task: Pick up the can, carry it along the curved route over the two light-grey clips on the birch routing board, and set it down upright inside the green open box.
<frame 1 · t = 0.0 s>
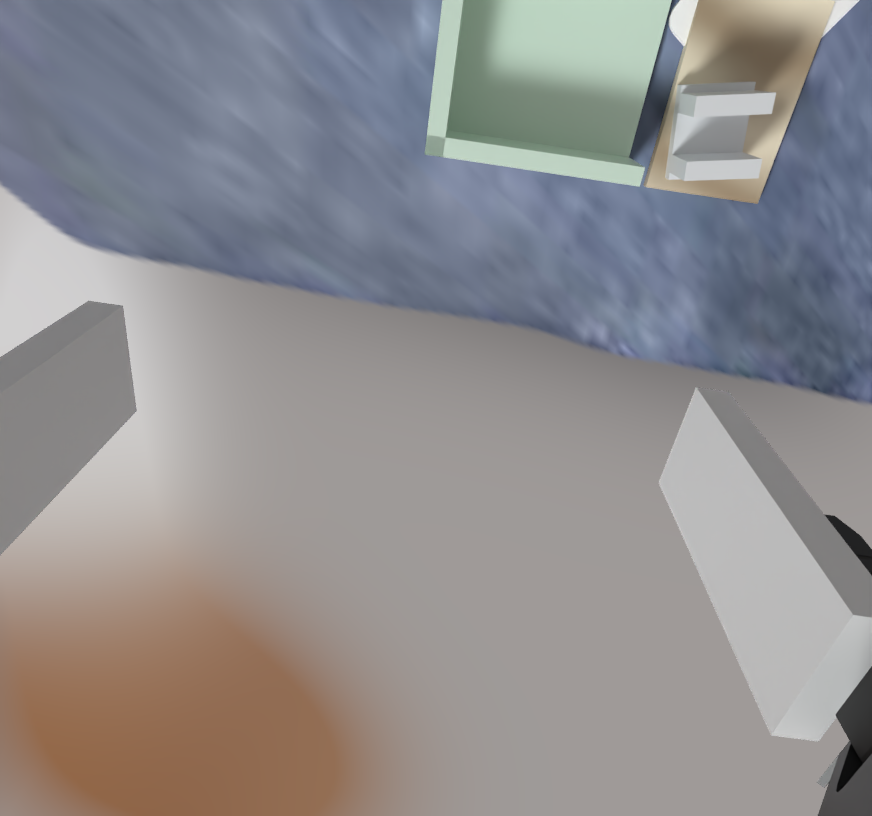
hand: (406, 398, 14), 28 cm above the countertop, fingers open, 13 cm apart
clip 2: (705, 131, 36), resting on routing board
routing board: (751, 35, 34), on the countertop
green open box: (547, 46, 35), on the countertop
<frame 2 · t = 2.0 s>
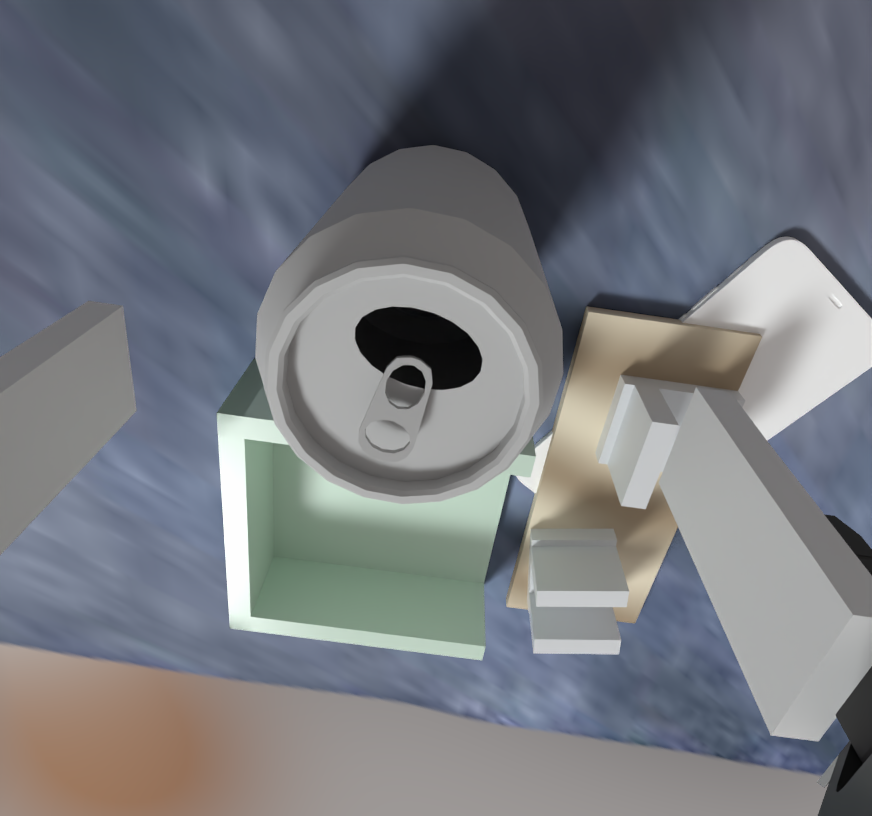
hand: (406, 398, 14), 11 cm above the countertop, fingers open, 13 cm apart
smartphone: (681, 404, 27), on the countertop
can: (431, 244, 24), on the countertop
clip 2: (568, 566, 31), resting on routing board
routing board: (612, 483, 29), on the countertop
clip 1: (664, 423, 27), resting on routing board
green open box: (379, 486, 30), on the countertop
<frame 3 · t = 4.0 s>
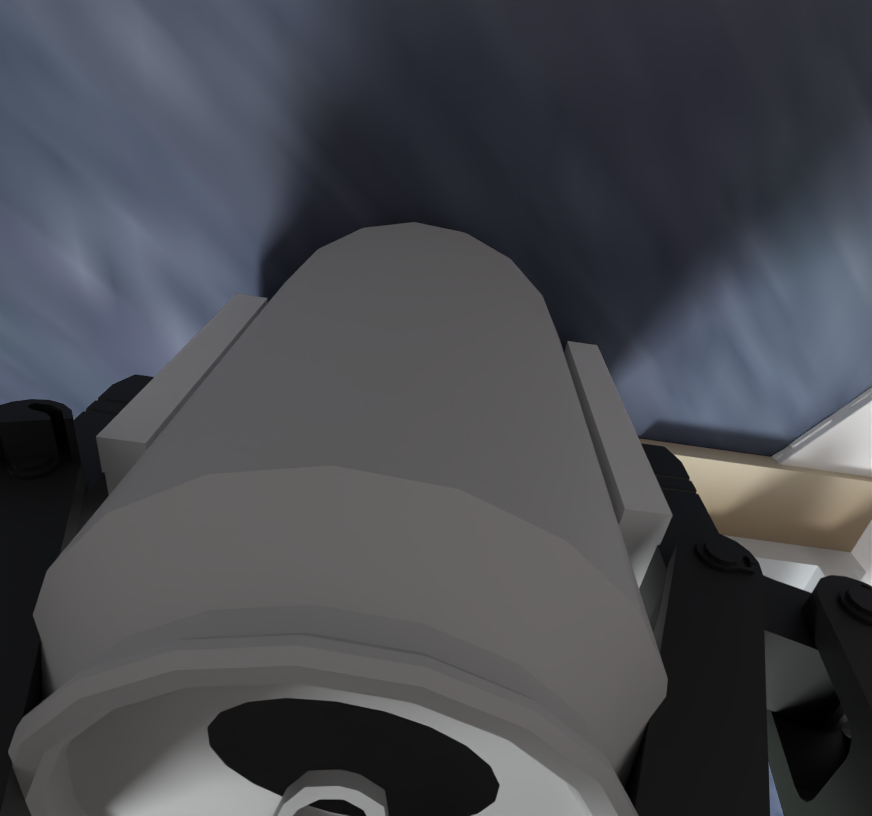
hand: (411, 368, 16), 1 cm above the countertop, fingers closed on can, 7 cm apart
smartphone: (761, 558, 20), on the countertop
can: (414, 354, 16), on the countertop, touching gripper
routing board: (664, 653, 21), on the countertop
clip 1: (742, 589, 19), resting on routing board
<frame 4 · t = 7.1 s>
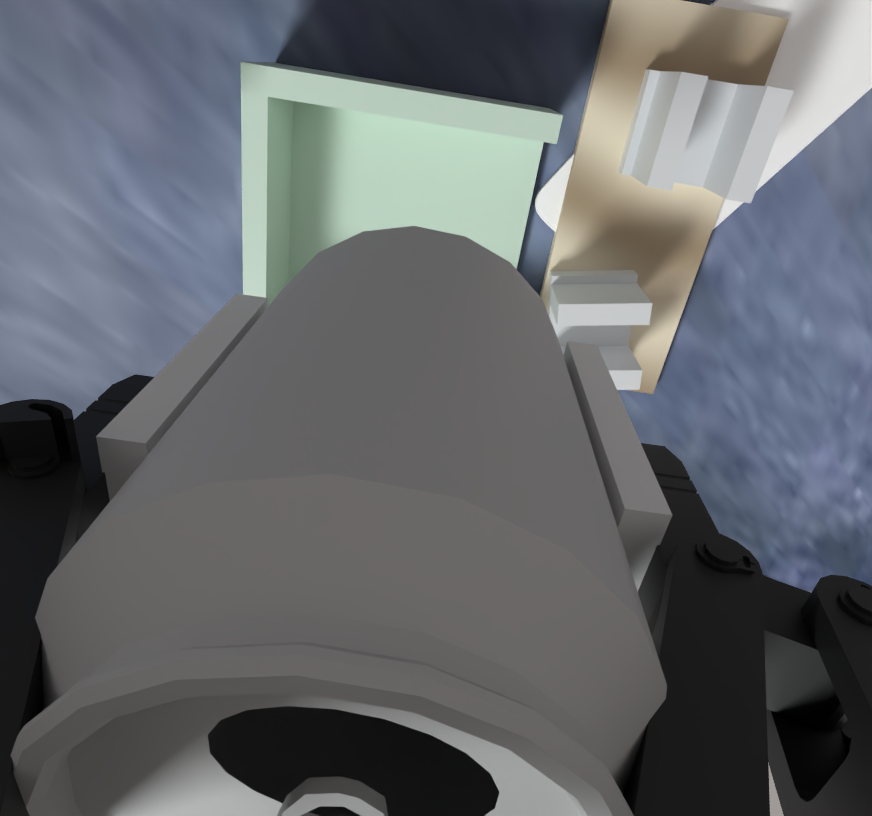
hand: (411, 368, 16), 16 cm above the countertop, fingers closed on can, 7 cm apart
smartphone: (703, 127, 27), on the countertop
can: (414, 357, 16), point 15 cm above the countertop, touching gripper
clip 2: (587, 319, 31), resting on routing board
routing board: (633, 219, 29), on the countertop
clip 1: (688, 131, 26), resting on routing board
green open box: (397, 225, 29), on the countertop
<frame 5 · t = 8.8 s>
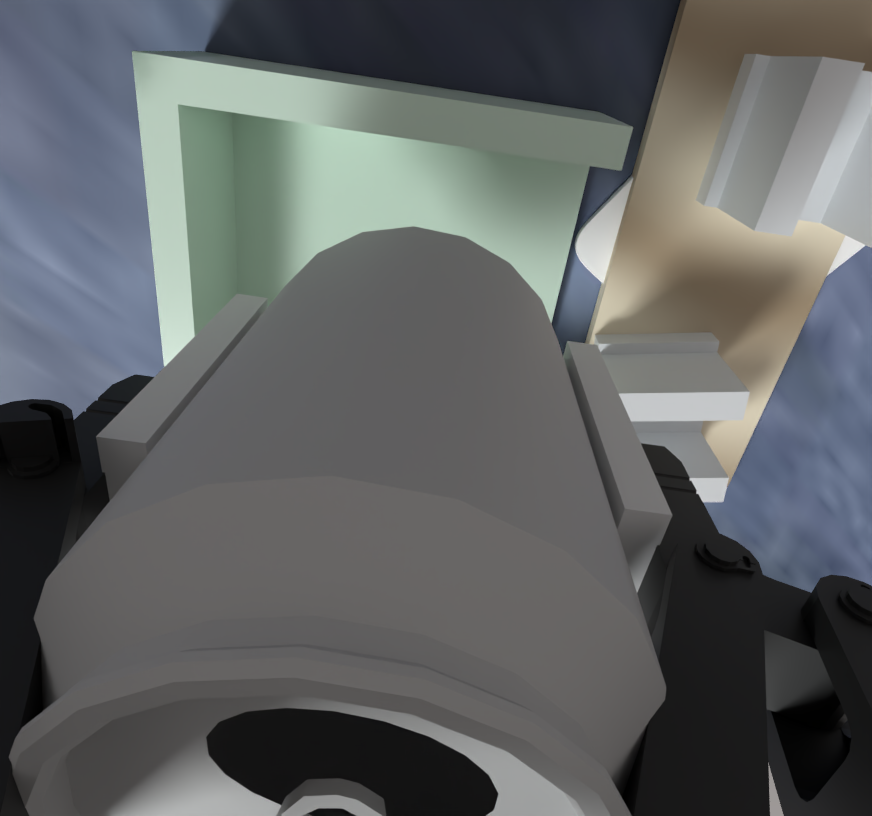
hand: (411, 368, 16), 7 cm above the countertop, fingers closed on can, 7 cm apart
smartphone: (817, 137, 19), on the countertop
can: (414, 358, 16), point 6 cm above the countertop, touching gripper
clip 2: (643, 395, 23), resting on routing board
routing board: (712, 263, 21), on the countertop
clip 1: (801, 143, 18), resting on routing board
green open box: (385, 274, 21), on the countertop
when the fingers open (4 cm above the countertop, at t = 10.2 s): can drops 3 cm, resting on green open box.
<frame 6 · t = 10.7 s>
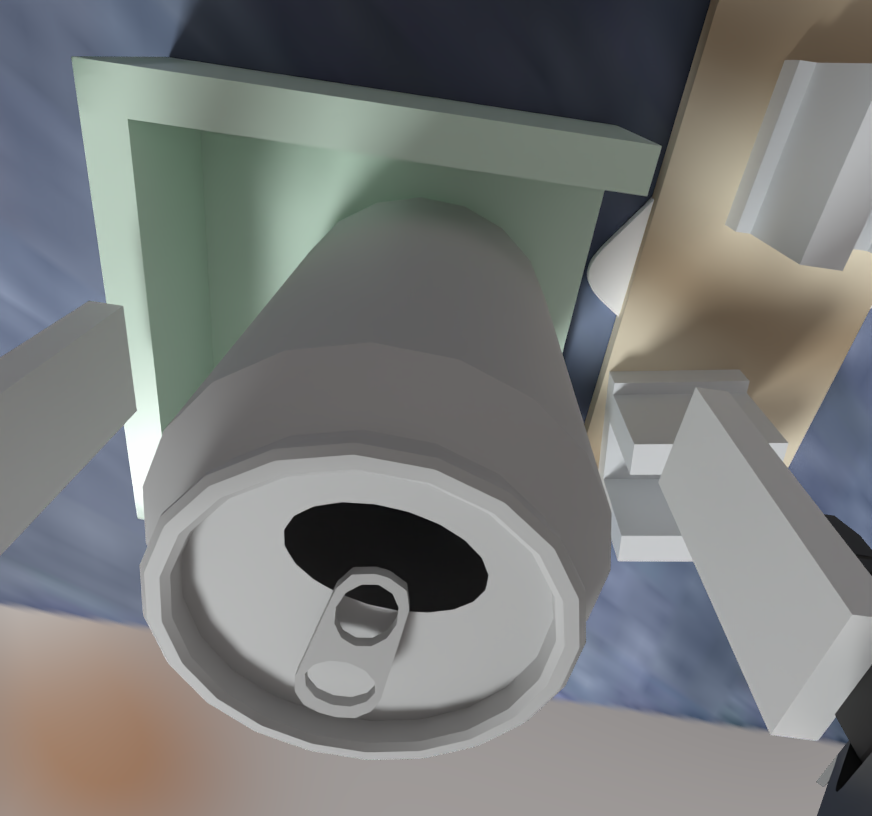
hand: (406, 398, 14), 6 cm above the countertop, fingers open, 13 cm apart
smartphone: (861, 155, 17), on the countertop
can: (420, 316, 19), resting on green open box
clip 2: (662, 437, 20), resting on routing board
routing board: (741, 293, 19), on the countertop
clip 1: (846, 161, 16), resting on routing board
green open box: (375, 304, 19), on the countertop
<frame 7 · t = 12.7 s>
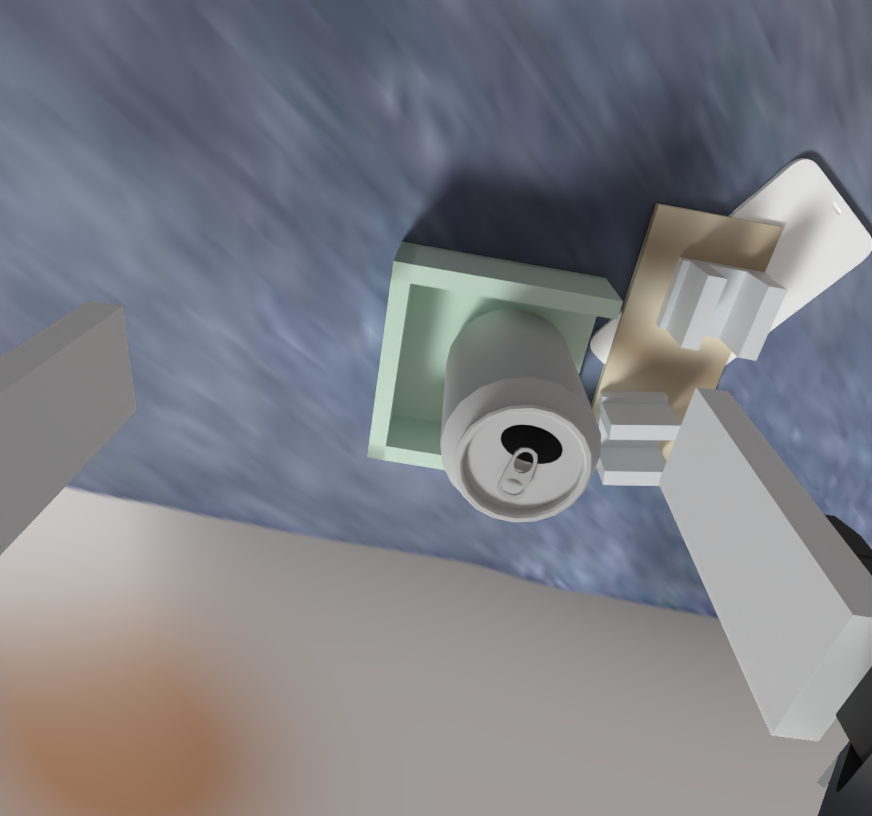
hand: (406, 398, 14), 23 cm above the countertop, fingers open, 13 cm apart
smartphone: (719, 293, 36), on the countertop
can: (507, 360, 38), resting on green open box
clip 2: (626, 426, 39), resting on routing board
routing board: (665, 354, 38), on the countertop
clip 1: (708, 298, 35), resting on routing board
green open box: (483, 354, 38), on the countertop
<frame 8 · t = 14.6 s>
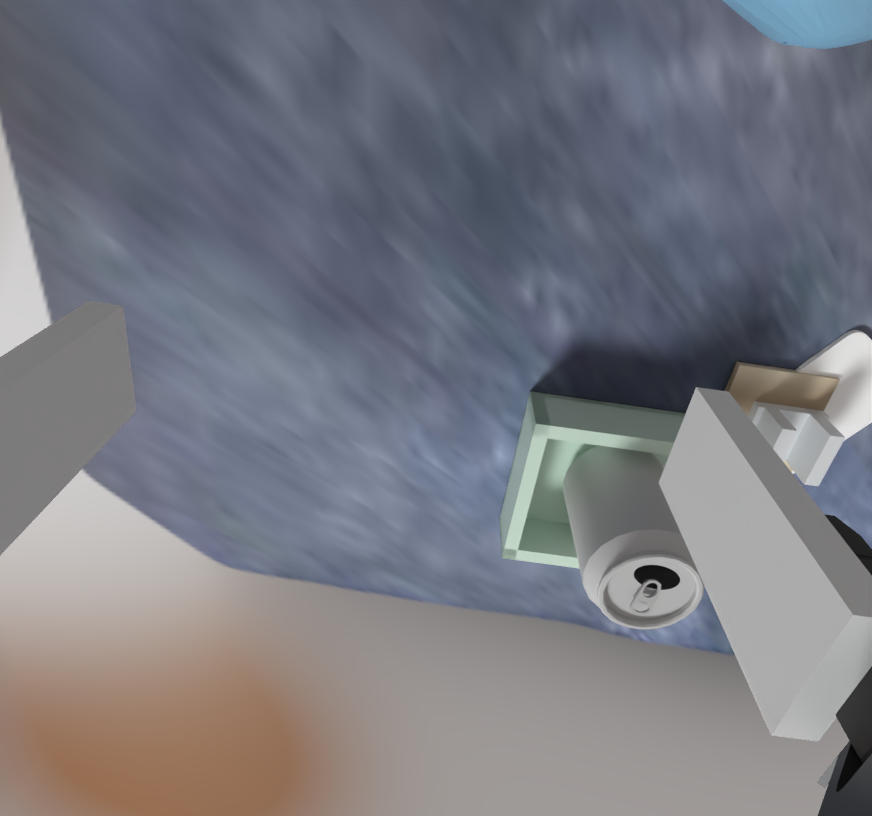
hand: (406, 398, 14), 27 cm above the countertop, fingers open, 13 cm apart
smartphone: (784, 422, 45), on the countertop
can: (610, 475, 47), resting on green open box
routing board: (739, 468, 47), on the countertop
clip 1: (777, 429, 44), resting on routing board
green open box: (590, 469, 47), on the countertop
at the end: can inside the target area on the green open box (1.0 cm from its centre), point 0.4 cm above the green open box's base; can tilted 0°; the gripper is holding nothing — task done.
